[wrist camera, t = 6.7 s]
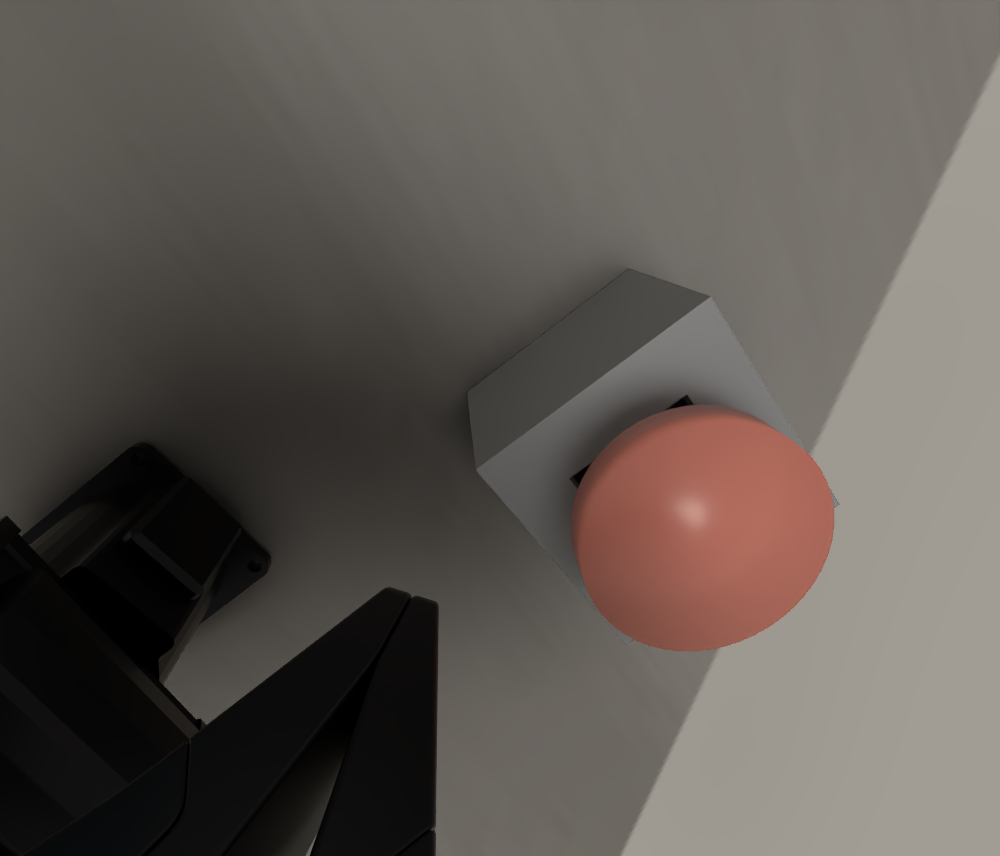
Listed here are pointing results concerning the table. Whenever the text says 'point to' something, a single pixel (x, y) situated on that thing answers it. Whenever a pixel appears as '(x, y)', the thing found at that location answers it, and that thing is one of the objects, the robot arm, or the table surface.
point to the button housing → (603, 397)
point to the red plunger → (700, 527)
